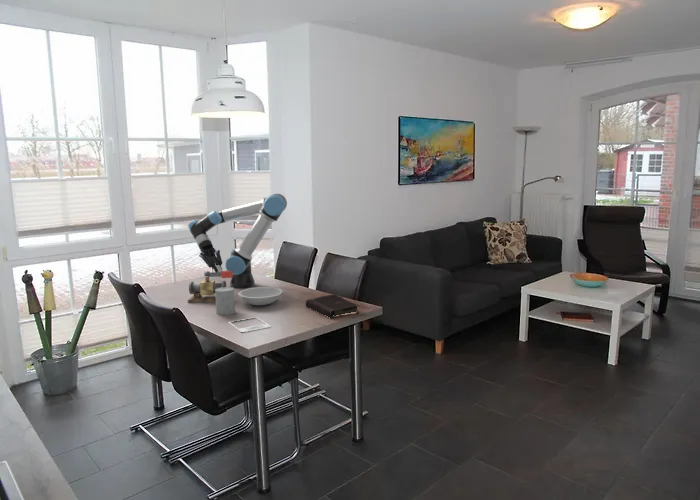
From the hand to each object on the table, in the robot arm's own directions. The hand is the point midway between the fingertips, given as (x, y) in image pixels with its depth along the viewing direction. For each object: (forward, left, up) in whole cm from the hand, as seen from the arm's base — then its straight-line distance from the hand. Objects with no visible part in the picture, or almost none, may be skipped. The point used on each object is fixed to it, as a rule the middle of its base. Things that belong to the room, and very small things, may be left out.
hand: (221, 275), depth 292 cm
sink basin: (-24, +13, -13) cm, 30 cm away
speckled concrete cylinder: (-8, +28, -13) cm, 32 cm away
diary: (-63, +27, -14) cm, 70 cm away
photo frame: (-24, +50, -14) cm, 57 cm away
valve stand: (+7, +3, -13) cm, 15 cm away
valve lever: (+1, +3, -1) cm, 3 cm away
